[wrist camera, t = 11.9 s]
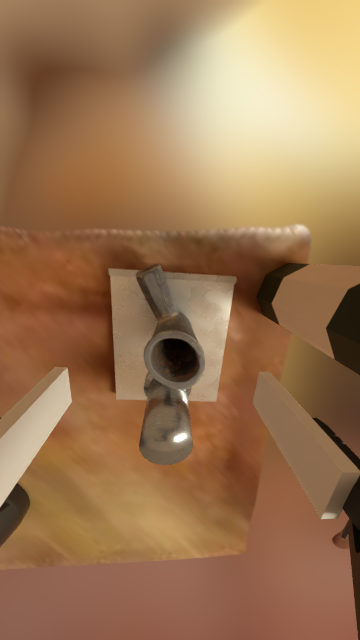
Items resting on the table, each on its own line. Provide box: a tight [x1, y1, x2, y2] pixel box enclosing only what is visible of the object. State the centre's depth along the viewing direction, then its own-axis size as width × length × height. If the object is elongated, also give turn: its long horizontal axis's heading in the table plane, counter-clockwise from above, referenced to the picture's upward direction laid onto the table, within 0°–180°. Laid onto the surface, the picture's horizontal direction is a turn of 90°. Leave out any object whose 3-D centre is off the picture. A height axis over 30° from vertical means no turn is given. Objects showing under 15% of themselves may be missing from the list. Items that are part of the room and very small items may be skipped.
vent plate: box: [108, 268, 237, 465], centre depth 23 cm, size 16×21×11 cm
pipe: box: [136, 264, 205, 390], centre depth 21 cm, size 6×13×8 cm, turn 20°
